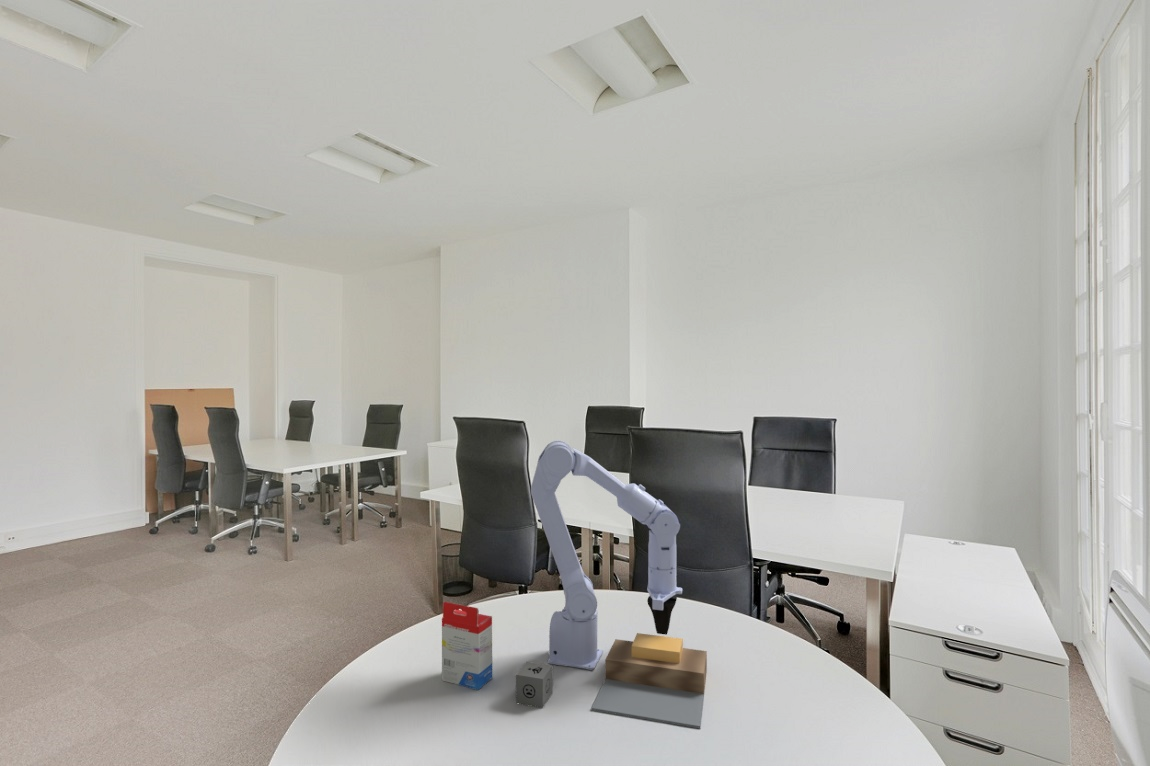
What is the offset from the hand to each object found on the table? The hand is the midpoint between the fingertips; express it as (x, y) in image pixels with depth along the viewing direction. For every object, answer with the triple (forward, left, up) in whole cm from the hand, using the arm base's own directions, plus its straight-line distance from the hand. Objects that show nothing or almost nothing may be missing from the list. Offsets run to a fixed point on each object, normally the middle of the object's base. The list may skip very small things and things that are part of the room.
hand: (662, 632), depth 113 cm
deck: (0, -8, -5) cm, 10 cm away
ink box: (-34, -20, -5) cm, 40 cm away
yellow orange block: (0, -7, -1) cm, 7 cm away
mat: (0, -17, -5) cm, 18 cm away
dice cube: (-20, -22, -5) cm, 30 cm away
